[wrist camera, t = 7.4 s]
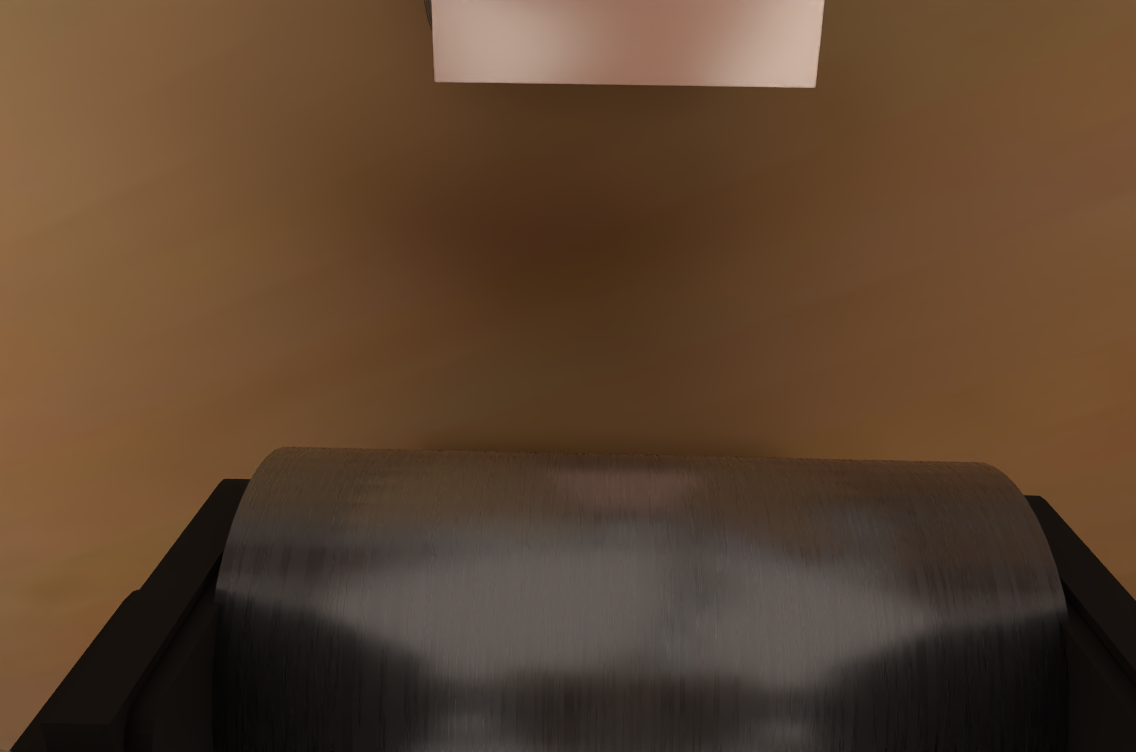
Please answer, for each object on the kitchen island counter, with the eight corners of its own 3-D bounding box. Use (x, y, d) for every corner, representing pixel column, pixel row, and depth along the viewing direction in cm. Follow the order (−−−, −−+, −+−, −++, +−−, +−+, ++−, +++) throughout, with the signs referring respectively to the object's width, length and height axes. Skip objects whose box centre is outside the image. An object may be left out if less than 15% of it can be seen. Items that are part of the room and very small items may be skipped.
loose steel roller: (311, 389, 11) (177, 584, 8) (945, 403, 11) (1120, 607, 8) (337, 661, 13) (235, 936, 9) (896, 675, 13) (1021, 959, 9)
